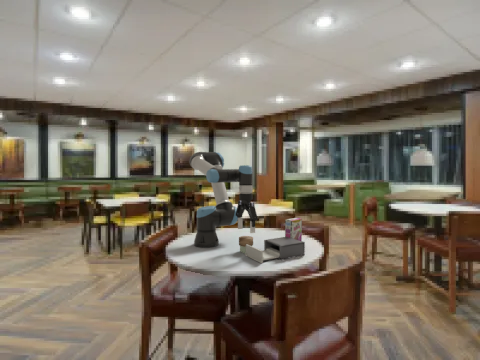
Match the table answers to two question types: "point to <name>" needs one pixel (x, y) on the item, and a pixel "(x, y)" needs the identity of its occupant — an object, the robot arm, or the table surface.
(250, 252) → the cream pull-out drawer
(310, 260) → the table surface
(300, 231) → the candy bar box
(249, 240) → the brown flattened rounded piece
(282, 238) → the housing
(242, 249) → the pale green block
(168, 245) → the table surface
